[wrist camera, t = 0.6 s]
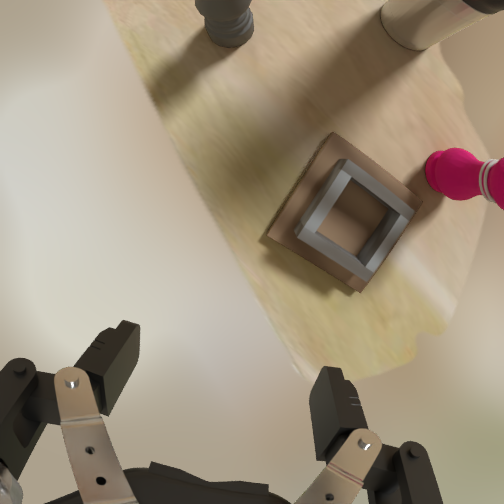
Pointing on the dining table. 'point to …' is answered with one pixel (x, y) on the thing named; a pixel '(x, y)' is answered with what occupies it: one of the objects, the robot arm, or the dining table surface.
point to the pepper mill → (465, 176)
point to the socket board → (345, 213)
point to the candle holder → (227, 21)
